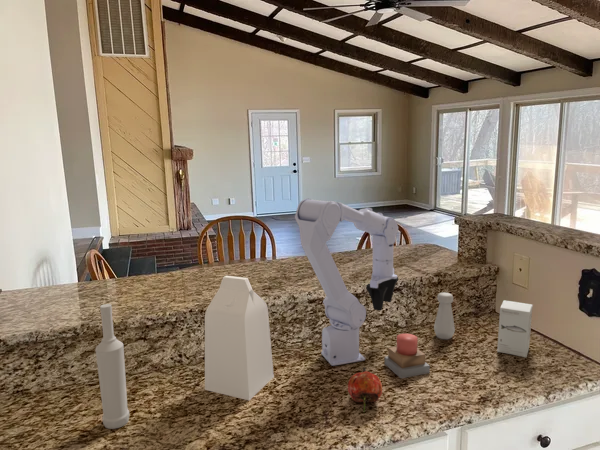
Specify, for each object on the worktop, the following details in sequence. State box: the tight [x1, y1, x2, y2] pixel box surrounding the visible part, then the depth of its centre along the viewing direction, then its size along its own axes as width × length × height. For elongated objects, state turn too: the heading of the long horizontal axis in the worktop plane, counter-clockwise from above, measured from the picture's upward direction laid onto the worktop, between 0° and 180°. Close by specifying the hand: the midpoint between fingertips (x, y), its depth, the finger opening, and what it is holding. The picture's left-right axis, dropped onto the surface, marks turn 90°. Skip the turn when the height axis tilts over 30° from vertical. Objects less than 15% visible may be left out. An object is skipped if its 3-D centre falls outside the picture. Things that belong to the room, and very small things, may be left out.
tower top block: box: [387, 345, 426, 368], centre depth 114 cm, size 6×6×2 cm
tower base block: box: [384, 355, 431, 379], centre depth 114 cm, size 8×8×2 cm
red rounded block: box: [396, 333, 419, 356], centre depth 114 cm, size 5×5×4 cm
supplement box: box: [496, 299, 534, 358], centre depth 122 cm, size 7×7×13 cm
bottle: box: [95, 303, 130, 430], centre depth 92 cm, size 5×5×25 cm
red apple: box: [347, 366, 384, 413], centre depth 99 cm, size 7×7×10 cm
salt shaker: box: [433, 291, 456, 340], centre depth 132 cm, size 6×6×13 cm
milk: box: [204, 275, 275, 401], centre depth 107 cm, size 12×12×26 cm
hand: (382, 305), depth 130 cm, fingers open, 7 cm apart
